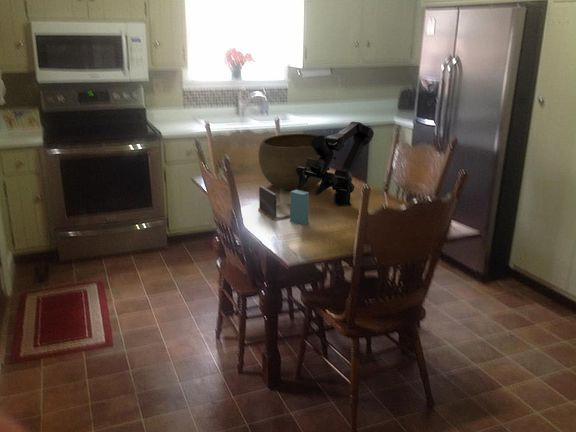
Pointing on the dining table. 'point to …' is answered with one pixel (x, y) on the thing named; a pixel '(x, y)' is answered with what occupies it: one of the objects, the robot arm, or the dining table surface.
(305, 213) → the tall teal pillar
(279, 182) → the brown bowl
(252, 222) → the dining table surface
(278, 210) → the grey l-shaped bracket
